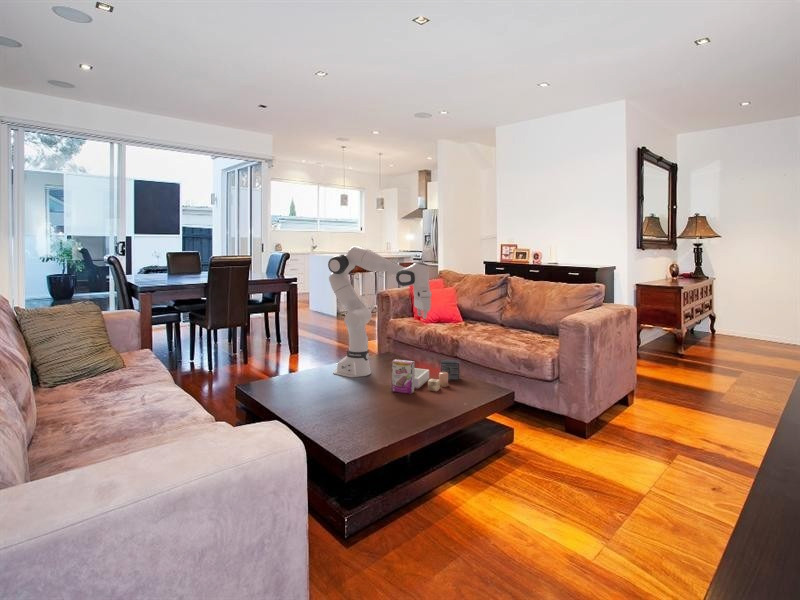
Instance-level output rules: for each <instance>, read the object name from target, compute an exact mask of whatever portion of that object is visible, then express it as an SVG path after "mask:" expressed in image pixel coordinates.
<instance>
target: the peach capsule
mask: <svg viewBox="0 0 800 600" xmlns="http://www.w3.org/2000/svg"><path fill="white" fill-rule="evenodd" d="M438 379H439V380H440V387H441V388H448V387H449V381H448V373H447V372H441V371H439V373H438Z"/></svg>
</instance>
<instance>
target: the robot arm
mask: <svg viewBox="0 0 800 600" xmlns="http://www.w3.org/2000/svg"><path fill="white" fill-rule="evenodd" d="M327 267H328V270H329V271H330V272H331V274H330V275H329V276H328V281H329V283H330V286H331V287H330V288H331V289H332V291H333V293H334V294H335V297H336V299H337V301H338V302H339V304H340V305H341V306H342V307H343V308H344V309H345V310H346V311H347V313H346V315H345V316H344V318H343V319H344V320H343V321H344V322H343V323H344V325H345V326H346V328H347V333H348V344H349V345H348V346H349V349H348V350H347V351H345V354H346V356H344V357H343V358H341V359H340V360H339V361H338V362H337V364H336V365H337V366H336V368H335V369H334V370H333V371H332V372H333V373H332V374H334V375H338V376H343V377H346V378H357V377H367V376H370V375H371V374H372V372H371V368H370V367H371V366H370V362H369V360H370V351H369V336H368V335H367V330H366V325H368V323H369V322H371V320H372V315H373V314H372V310H370V309H369V308H368V307H367V306H366V305H365V303H364V302H363V301H362V300H361V299H360V297H359V296H358V294H357V293H356V292H357V291H356V290H355V289H354V287H353V285H352V283H351V281H350V280H349V275H350V274H352V273H353V271H354V270H355V269H356V268H357V267H359V268H362V269H364V270H367V271H370V272H385V273H389V274H391V275H394V276H395V281H396V283H397V284H398V285H399V286H401V287H409V286H413V296H414V297H413V306H414V308H416V311H417V312H416V313H417V316H418V317H422V319H423V320H426V319H427V315H428V312H430V311H431V307H432V298H431V297H432V294H433V293H432V291H431V290H430V288H431V287H430V283H429V282H430V270H429V266H428V263H424V262H420V261H419V262H418V261H417V262H413V264H411V265H410V266H407V267H406V266H403V265H401V264H398V263H396V262H393V261H391V260H389V259H387V258H385V257H383V256H382V255H380V254H378V253H376V251H373V250H370V249H368V248H366V247H363V246H358V245H353V246H351V247H350V248H349V250H348V251H347V253H340V254H337V255H334V256H332V257H331V258H330V259H329V260H328V263H327Z"/></svg>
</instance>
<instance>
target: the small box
mask: <svg viewBox="0 0 800 600" xmlns="http://www.w3.org/2000/svg"><path fill="white" fill-rule="evenodd" d="M440 372H447V373H448V382H449V380H450V381H452V382H453V381H455V382H459V381H460V360H455V359H454V360H453V359H452V360H450V359H441V360H440Z"/></svg>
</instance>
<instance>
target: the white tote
mask: <svg viewBox="0 0 800 600" xmlns="http://www.w3.org/2000/svg"><path fill="white" fill-rule="evenodd" d="M429 380H430V369H425V368H416V367H415V369H414V389H420V388H421V387H423V385H424V384H426V383H428V381H429Z"/></svg>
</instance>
